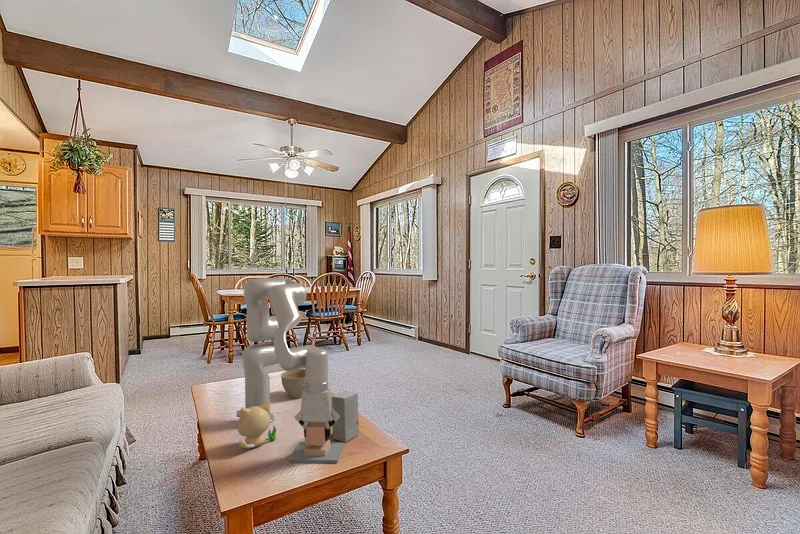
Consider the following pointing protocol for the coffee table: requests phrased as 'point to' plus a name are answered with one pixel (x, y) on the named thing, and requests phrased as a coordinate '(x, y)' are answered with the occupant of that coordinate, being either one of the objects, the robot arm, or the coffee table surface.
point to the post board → (317, 459)
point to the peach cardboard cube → (315, 433)
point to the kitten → (255, 425)
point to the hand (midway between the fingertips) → (317, 438)
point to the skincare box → (345, 416)
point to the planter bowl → (293, 382)
